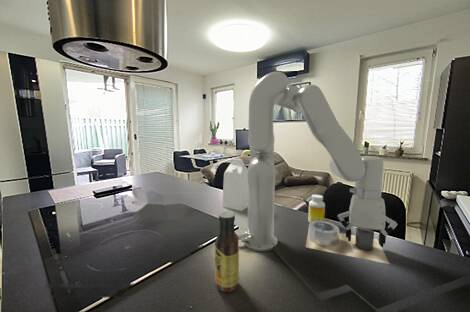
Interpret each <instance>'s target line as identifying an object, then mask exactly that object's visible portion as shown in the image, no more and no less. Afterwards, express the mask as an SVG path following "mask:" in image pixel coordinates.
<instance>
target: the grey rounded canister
mask: <svg viewBox="0 0 470 312" xmlns="http://www.w3.org/2000/svg"><path fill="white" fill-rule="evenodd" d="M355 236H356V239H355V246H356V247H357V248H359V249H361V250H364V251H372V250H373V240H374V239H375V237H374V236H375V231H374V229H367V228H361V227H356V228H355Z"/></svg>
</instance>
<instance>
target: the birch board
mask: <svg viewBox="0 0 470 312" xmlns="http://www.w3.org/2000/svg"><path fill="white" fill-rule="evenodd" d="M307 231H308V232H309V229H307ZM308 232H307V233H308ZM355 239H356V234H355V235H353V234H351V241H348V238H347V237H346V233H342V232H339V243H338V244H337V246H333V247H324V246H320V245H317V244H314V243H313V242H311V241H310V240H309V237H308V235H307V236H306V241H305V248H308V249H312V250H317V251H322V252H327V253H331V254H336V255H341V256H347V257H352V258H356V259H361V260H367V261H370V262H376V263H381V264H387V265H390V261H389V259H388V257H387V255H386V254H385V251H384V249H383V247H381V246H380V244H379V238H374V240H373V250H372V251H364V250H361V249H359V248H357V247H356V246H355Z"/></svg>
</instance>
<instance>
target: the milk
mask: <svg viewBox="0 0 470 312" xmlns="http://www.w3.org/2000/svg"><path fill="white" fill-rule="evenodd" d="M247 171H248V167H247V166H246V165H245V163H244V161H243V159H239V158H231V161H230V163H229V165H228V167H227V168H226V170H225V171H224V173H223V186H222V187H223V189H222V208H225V209H230V210H235V211H239V212H242V211H244V210H245V209H248V184H247Z"/></svg>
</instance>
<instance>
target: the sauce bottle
mask: <svg viewBox="0 0 470 312" xmlns="http://www.w3.org/2000/svg"><path fill="white" fill-rule="evenodd" d="M218 220H219V230H218V233H217V236H216V238H215V242H214V274H215V275H214V281H215V285H216V287H217V289H218V290H219V291H220V292H225V293H227V292H232V291H234V290H236V289H237V287H238V284H239V279H240V278H239V277H240V275H239V273H240V271H239V270H240V263H239V261H240V259H239V257H240V255H239V253H240V248H239V240H238V236H237V234H238V233H236V232H235V220H236V215H235V213H234V212H232V211H222V212H220V213H219V215H218Z"/></svg>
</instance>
